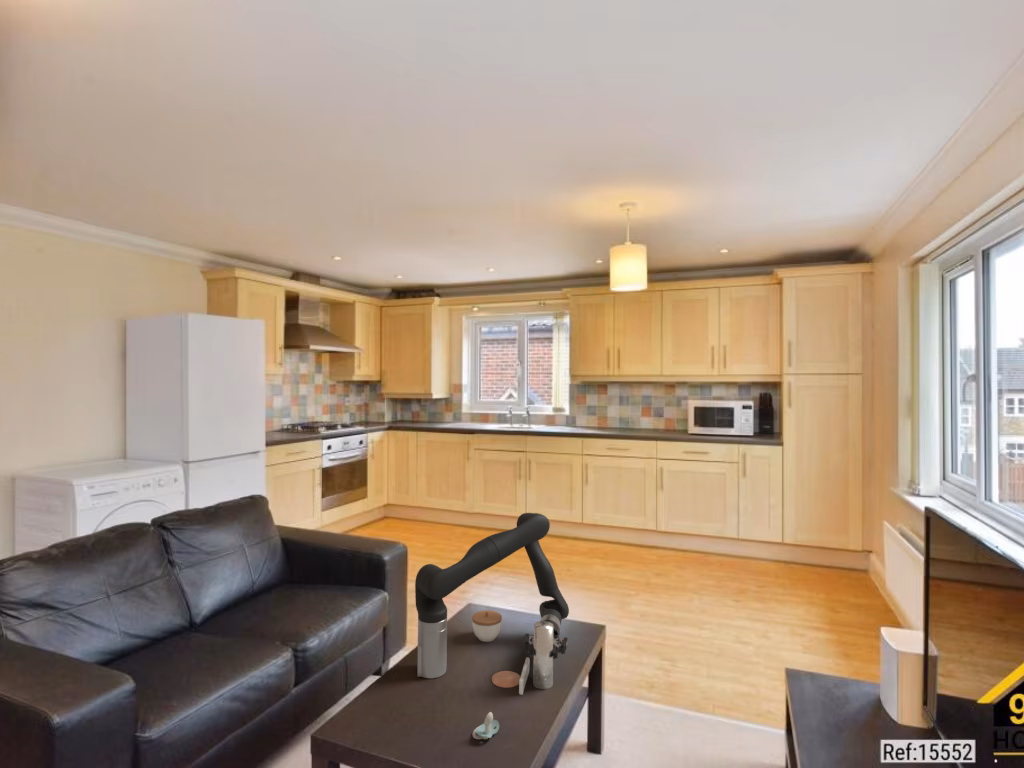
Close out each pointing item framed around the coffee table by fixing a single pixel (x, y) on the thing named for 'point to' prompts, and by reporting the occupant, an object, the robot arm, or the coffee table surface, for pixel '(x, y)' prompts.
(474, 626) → the lidded jar
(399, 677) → the coffee table surface
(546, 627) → the metal tin
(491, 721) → the pacifier
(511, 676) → the terracotta coaster
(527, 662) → the acrylic wall
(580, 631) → the coffee table surface
